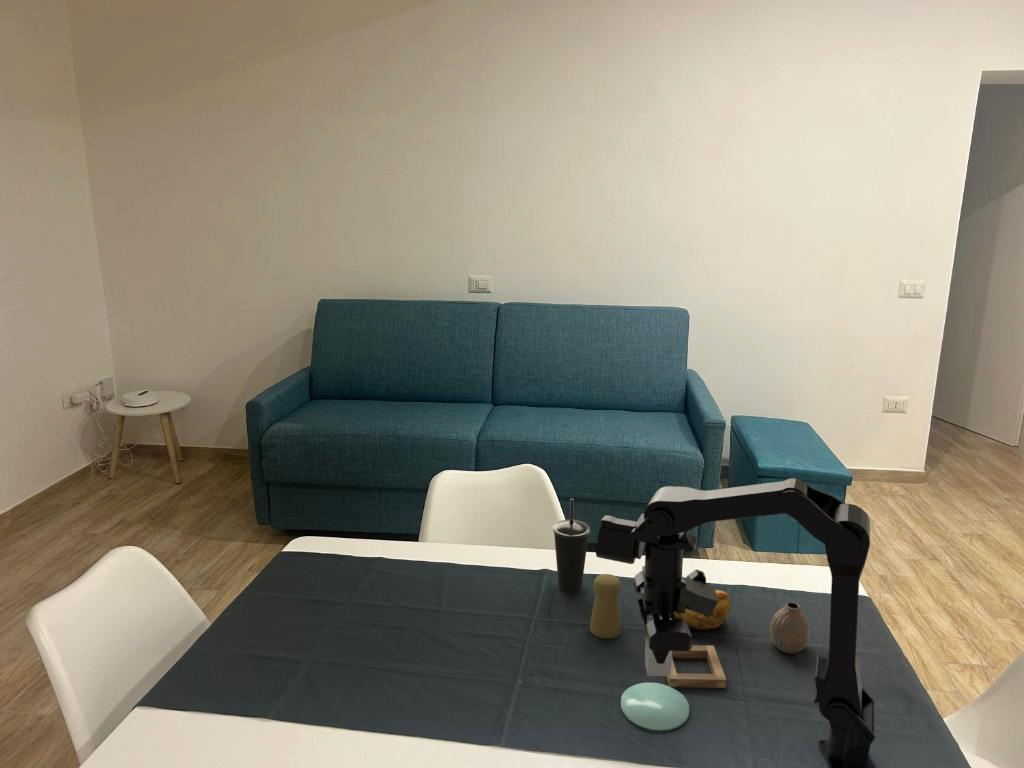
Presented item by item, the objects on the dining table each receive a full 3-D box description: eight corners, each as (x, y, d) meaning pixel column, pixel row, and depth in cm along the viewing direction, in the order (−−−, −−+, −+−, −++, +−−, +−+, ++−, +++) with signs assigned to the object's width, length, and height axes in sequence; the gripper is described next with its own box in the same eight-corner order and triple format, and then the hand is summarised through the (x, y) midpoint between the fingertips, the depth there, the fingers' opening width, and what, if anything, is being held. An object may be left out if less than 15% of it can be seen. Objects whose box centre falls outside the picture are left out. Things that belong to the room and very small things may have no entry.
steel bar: (670, 676, 126) (673, 626, 124) (647, 676, 126) (650, 626, 124) (666, 662, 130) (669, 613, 127) (644, 662, 130) (647, 613, 127)
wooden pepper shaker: (584, 633, 150) (586, 581, 147) (596, 617, 155) (598, 566, 152) (614, 641, 147) (617, 589, 144) (626, 625, 153) (628, 574, 150)
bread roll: (661, 633, 150) (664, 595, 148) (656, 605, 160) (658, 569, 157) (731, 636, 149) (734, 598, 147) (722, 608, 159) (725, 572, 156)
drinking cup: (545, 582, 168) (546, 495, 162) (577, 574, 171) (579, 488, 165) (562, 600, 161) (564, 510, 155) (595, 592, 164) (598, 503, 158)
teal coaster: (695, 731, 125) (695, 728, 125) (624, 730, 125) (625, 727, 125) (682, 685, 135) (682, 682, 135) (617, 685, 136) (617, 682, 135)
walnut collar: (725, 687, 135) (726, 679, 134) (668, 686, 135) (669, 678, 135) (713, 653, 144) (713, 645, 144) (659, 652, 144) (660, 645, 144)
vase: (810, 660, 142) (816, 617, 140) (770, 656, 143) (775, 613, 141) (805, 638, 149) (810, 597, 146) (766, 634, 150) (770, 593, 147)
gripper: (730, 601, 114) (722, 694, 118) (702, 540, 132) (697, 622, 136) (652, 600, 114) (647, 693, 118) (635, 539, 132) (631, 622, 136)
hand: (658, 655), depth 127 cm, fingers closed on steel bar, 4 cm apart
